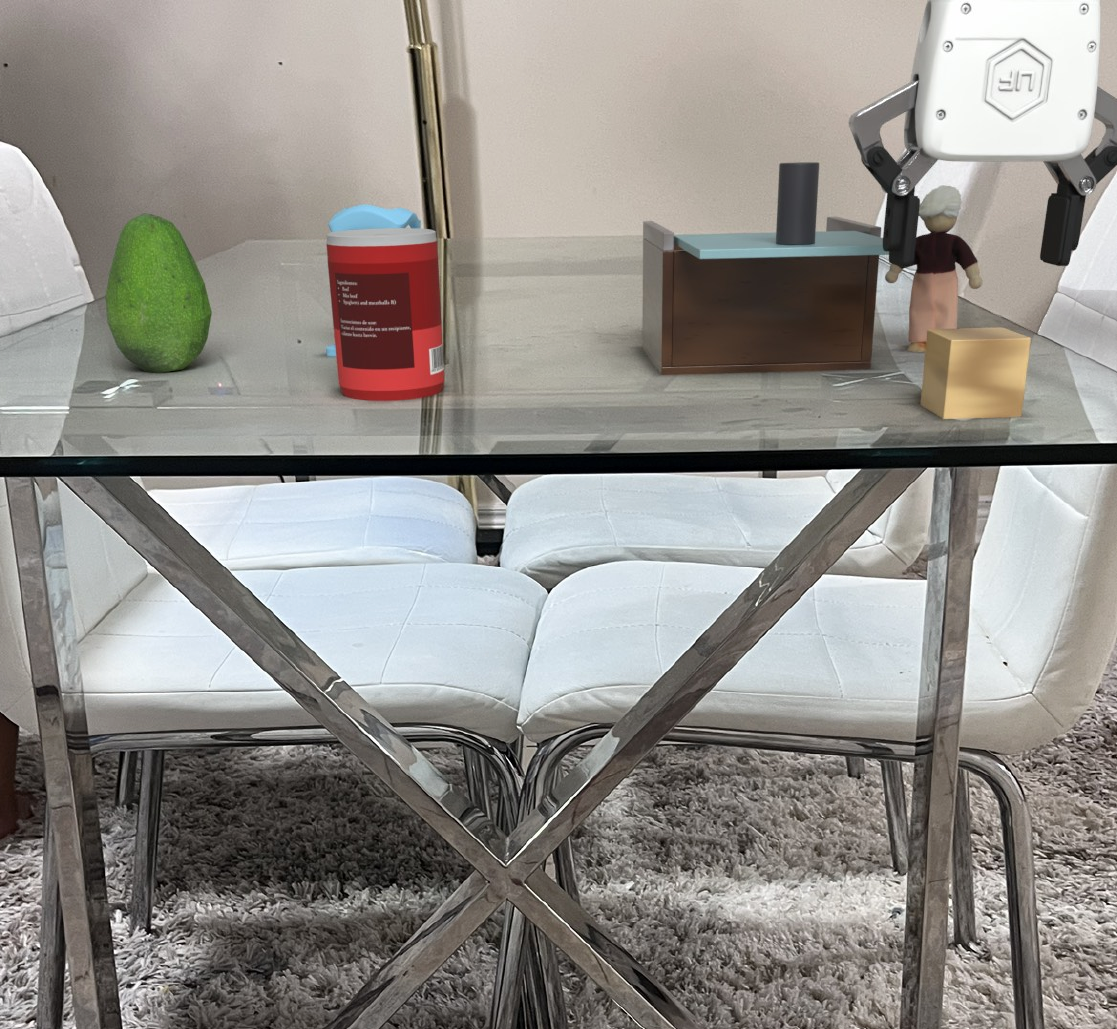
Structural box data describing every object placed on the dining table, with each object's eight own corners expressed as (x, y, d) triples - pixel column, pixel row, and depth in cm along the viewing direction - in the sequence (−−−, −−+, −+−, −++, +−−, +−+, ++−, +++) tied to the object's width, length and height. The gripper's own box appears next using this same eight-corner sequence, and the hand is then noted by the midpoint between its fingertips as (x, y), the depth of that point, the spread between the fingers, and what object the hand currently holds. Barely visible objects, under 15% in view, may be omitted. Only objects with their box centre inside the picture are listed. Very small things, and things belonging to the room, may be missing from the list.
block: (994, 405, 89) (1003, 327, 87) (1021, 420, 84) (1031, 337, 82) (919, 407, 88) (926, 329, 86) (942, 422, 84) (951, 340, 82)
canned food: (423, 381, 102) (414, 226, 97) (462, 397, 95) (454, 232, 90) (325, 390, 99) (311, 231, 94) (358, 408, 92) (344, 237, 87)
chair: (443, 346, 119) (435, 200, 114) (411, 360, 111) (401, 205, 106) (362, 344, 120) (351, 200, 115) (325, 358, 113) (311, 205, 108)
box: (828, 345, 114) (836, 216, 110) (870, 372, 102) (881, 227, 97) (642, 350, 114) (643, 221, 110) (661, 377, 101) (663, 232, 97)
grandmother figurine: (975, 349, 111) (993, 184, 105) (974, 356, 107) (992, 186, 102) (881, 347, 113) (893, 184, 107) (876, 354, 109) (889, 187, 104)
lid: (855, 239, 100) (861, 158, 98) (908, 254, 88) (916, 161, 85) (672, 243, 100) (674, 162, 98) (699, 259, 87) (701, 166, 85)
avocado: (185, 382, 103) (163, 215, 98) (97, 379, 105) (71, 216, 100) (235, 366, 110) (217, 210, 105) (151, 363, 112) (129, 210, 107)
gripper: (883, -66, 72) (853, 271, 79) (1199, -64, 72) (1141, 270, 80) (849, -50, 78) (825, 259, 86) (1138, -48, 79) (1089, 258, 86)
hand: (977, 264), depth 83 cm, fingers open, 9 cm apart
